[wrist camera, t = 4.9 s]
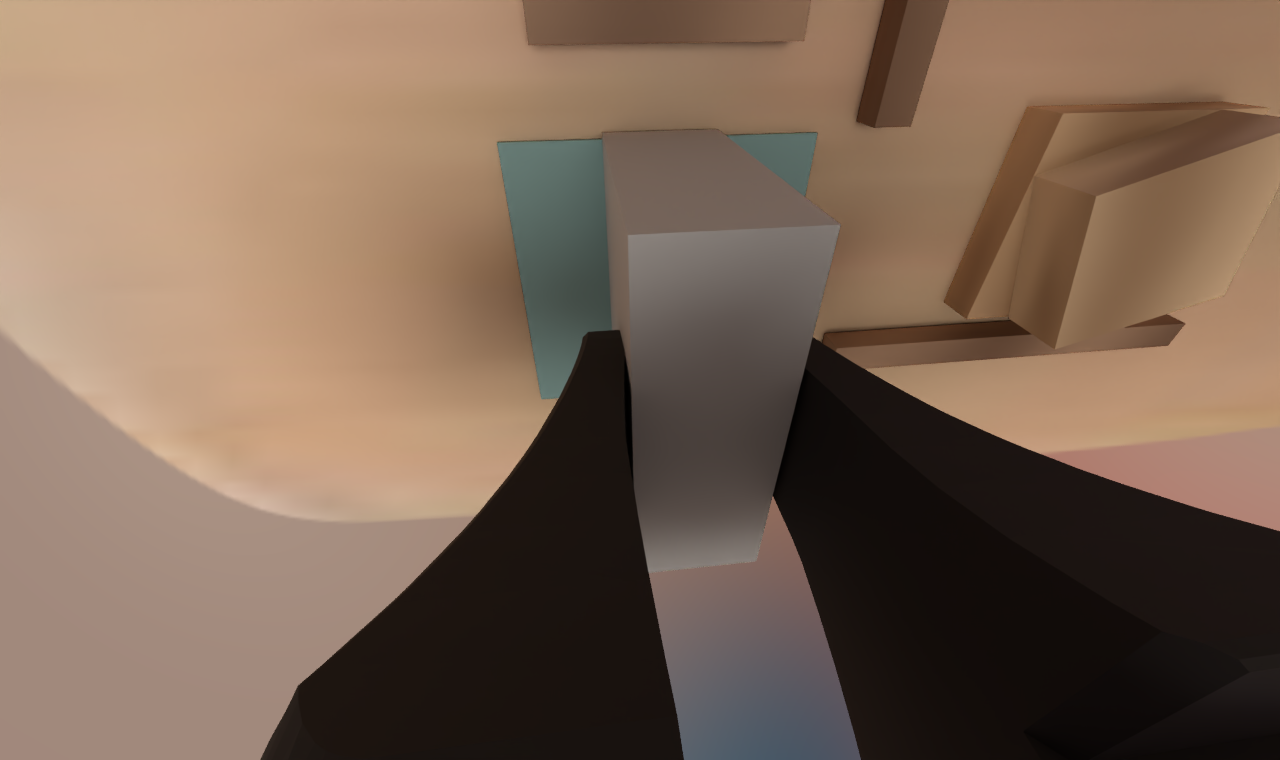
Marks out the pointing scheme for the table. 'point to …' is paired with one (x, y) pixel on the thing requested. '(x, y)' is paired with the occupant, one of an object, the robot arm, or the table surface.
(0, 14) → the table surface
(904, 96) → the rack
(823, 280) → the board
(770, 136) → the mat
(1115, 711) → the robot arm
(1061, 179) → the offcut top
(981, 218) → the offcut bottom
